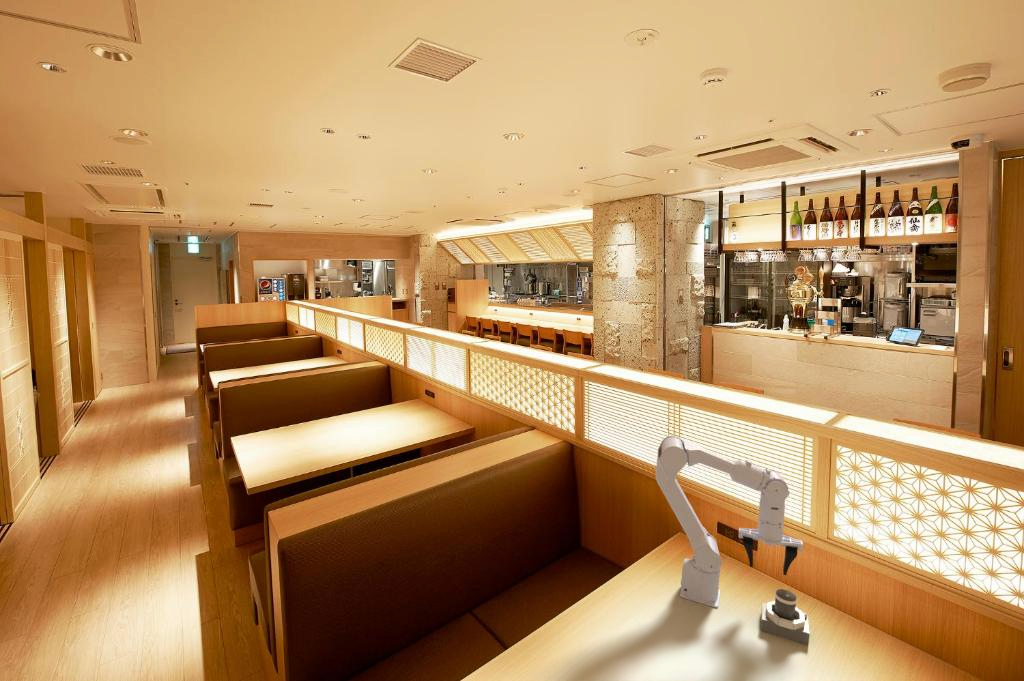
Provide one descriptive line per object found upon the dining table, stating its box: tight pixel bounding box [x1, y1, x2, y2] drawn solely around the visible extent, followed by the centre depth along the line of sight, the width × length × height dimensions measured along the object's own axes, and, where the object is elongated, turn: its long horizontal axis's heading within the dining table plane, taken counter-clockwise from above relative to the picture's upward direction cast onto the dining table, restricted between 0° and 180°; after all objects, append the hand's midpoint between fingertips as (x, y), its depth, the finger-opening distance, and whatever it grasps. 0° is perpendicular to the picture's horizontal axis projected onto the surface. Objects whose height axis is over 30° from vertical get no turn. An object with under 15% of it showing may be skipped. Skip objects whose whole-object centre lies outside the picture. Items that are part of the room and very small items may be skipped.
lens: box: [774, 588, 798, 621], centre depth 120 cm, size 5×5×6 cm
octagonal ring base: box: [760, 600, 810, 646], centre depth 121 cm, size 10×8×4 cm
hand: (767, 568), depth 128 cm, fingers open, 7 cm apart
